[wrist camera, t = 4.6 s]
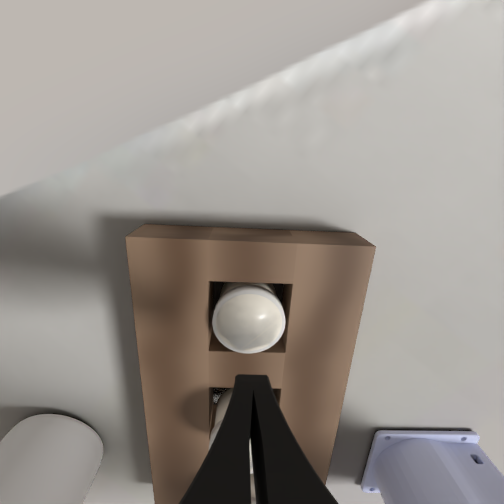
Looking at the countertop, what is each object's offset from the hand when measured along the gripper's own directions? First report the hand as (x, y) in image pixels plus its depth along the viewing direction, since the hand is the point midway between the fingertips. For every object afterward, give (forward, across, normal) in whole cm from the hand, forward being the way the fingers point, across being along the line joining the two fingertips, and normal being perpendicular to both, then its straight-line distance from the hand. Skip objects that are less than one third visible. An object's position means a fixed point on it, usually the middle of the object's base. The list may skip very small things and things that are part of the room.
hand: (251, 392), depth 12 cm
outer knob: (+8, 0, 0) cm, 8 cm away
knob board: (+8, 0, +8) cm, 11 cm away
